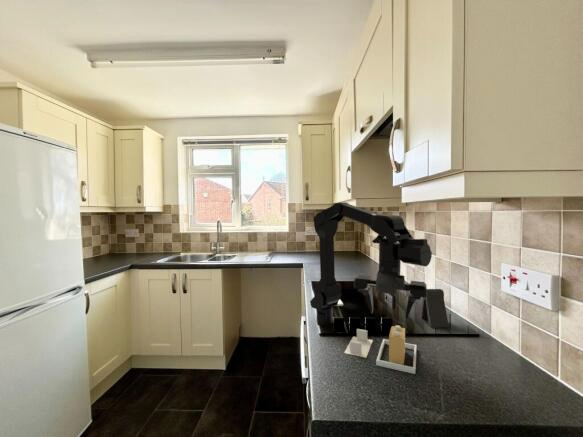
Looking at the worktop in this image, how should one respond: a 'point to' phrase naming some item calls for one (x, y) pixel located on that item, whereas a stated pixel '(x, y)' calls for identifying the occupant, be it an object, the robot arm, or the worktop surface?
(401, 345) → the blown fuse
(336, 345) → the worktop surface
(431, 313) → the phone stand
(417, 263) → the robot arm
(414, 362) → the parts tray
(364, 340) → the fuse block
